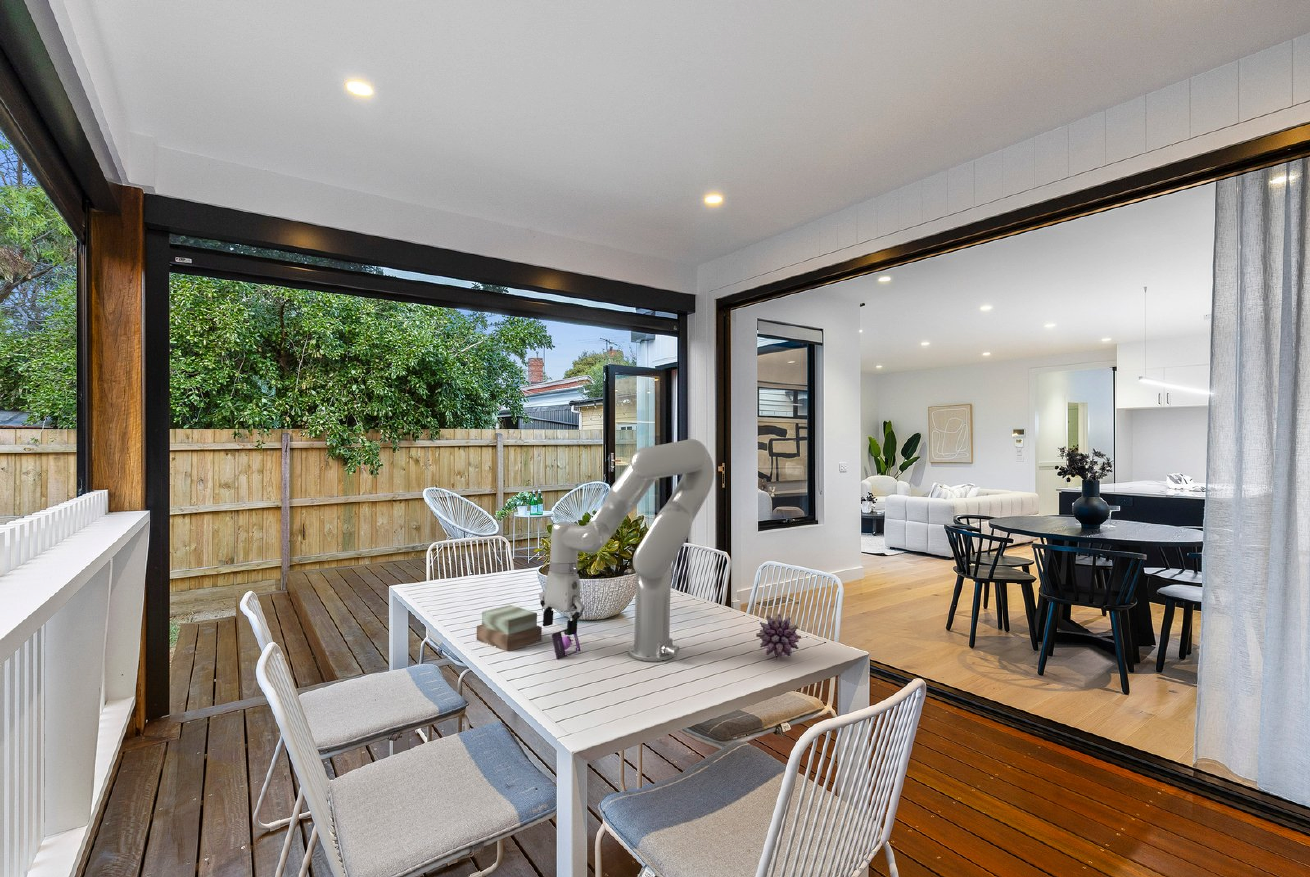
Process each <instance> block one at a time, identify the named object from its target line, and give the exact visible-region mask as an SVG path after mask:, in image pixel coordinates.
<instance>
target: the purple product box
mask: <svg viewBox="0 0 1310 877" xmlns="http://www.w3.org/2000/svg"><path fill="white" fill-rule="evenodd" d="M562 633H563V634H564V635H565V636H562ZM550 635H551V638H552V640H551V641H552V644H553V648H554V651H553V652H554V653H555V657H556V660H560V659H563V658H566V657H568V656H567V655H569V656H571V655H574V654H576V653H578V652H577V651H579V652H580V651H581V646H580V641H579V638H578V632H577V633H576V634H573V637H574V639H572V638H571V636H572V635H567V628H565V629H561V630H558V631H556V632H554V633H551V634H550ZM574 641H575V644H576V647H575V650H574V651H572V652H569V653H567V654H566V650H568V649H569V648H570V647H571V646H572V645H573V642H574Z"/></svg>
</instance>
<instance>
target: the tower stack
mask: <svg viewBox="0 0 1310 877" xmlns="http://www.w3.org/2000/svg"><path fill="white" fill-rule="evenodd" d="M542 630H543V628H542V626H541V625H538V613H537V612H534V611H532V610H529V609H526V608H522V607H519V606H515V605H511V604H510V605H505V606H501V607H496V608H493V609H489V610H484V611H482V612H481V624H480V625H479V624H478V625H476V639H477V640H476V641H478V640H479V641H478V642H481V643H483V642H485V643H484V644H486V643H488V644H487V645H489V644H490V645H489V646H491V645H492V647H494V646H496V647H495V648H497V647H498V648H497V649H499V648H501V649H500V650H502V649H503V651H506V652H509V651H513V650H516V648H517V649H519V648H520V649H521V648H522V646H523V647H525V646H529V645H533V644H536V643H539V642H542V638H543V637H542V636H543V634H542V633H543V631H542Z"/></svg>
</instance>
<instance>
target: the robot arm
mask: <svg viewBox="0 0 1310 877" xmlns="http://www.w3.org/2000/svg"><path fill="white" fill-rule="evenodd" d="M679 475H681V478H680V480H679V481H678V483H677V486H676V487H675V489H674V490H673V492H672V494H671V496H670V498H669V499H668V500H667V502H666V504H664V506H663V507H662V508H661V509H660V511H659V512H658V513H657V515H656V517H655V518H654V521H652V524H651V525H650V527H649V529H648V530H647V532H646V533H645V535H644V537H643V538H642V540H641V541H640V542H639V544H638V545H637V547H636V550H635V551H634V554H633V557H632V566H633V569H634V571H635V597H634V598H635V600H634V634H633V636H634V638H633V640H634V641H633V645H631V646H629V648H628V650H627V651H628V652H627V654H628V655H629V656H630V657H631V658H633V659H635V660H639V661H642V660H643V662H662V660H664V661H668V660H669V659H672V658H673V657H676V656H678V655H679V652H680V649H681V647H680V646H679V645H674V644H673V638H671V637H670V632H671V631H670V626H671V591H672V590H671V587H672V586H671V585H672V581H671V580H672V565H673V564H672V563H674V560H675V559H676V557H677V556H678V554H679V552H680V550H681V549H682V548H683V546H684V544H685V542H686V541H687V539H688V537H689V535H690V533H691V530H692V526H693V522H694V521H695V518H696V517H697V515H698V514H699V512H700V511H701V509H702V506H703V505H704V502H705V501H706V499H707V497H708V495H709V494H710V491H711V489H712V486H713V482H714V477H715V468H714V463H713V460H712V457H711V454H710V453H709V451H708V449H707V448H706V446H705V445H704V444H703V443H702V442H701V441H700V440H697V439H692V438H690V439H689V438H688V439H685V440H680V441H678V440H677V441H674V442H669V443H663V444H657V445H651V446H650V445H649V446H644V447H640V448H639V449H637V450H636V451H635V453H633V455H632V457H631V460H630V461H629V463H628V465H627V466H626V467H625V469H624V470H622V473H621V474H620V475H619V476H618V478H616V480H615V482H614V483H613V484H612V485H611V487H610V489H609V490H608V493H607V497H606V499H605V500H604V502H603V503H602V505H601V506H600V508H599V509H598V510H597V511H596V513H595V514H594V516H593V517H592V518H591V520H589V522H588V523H587V524H586V525H579V524H577V523H576V522H572V521H558V522H555V523H554V524H552V527H551V539H550V555H549V569H548V570H549V571H548V572H547V575H546V580H545V586H544V587H545V588H544V591H542V592H539V593H538V597H539V600H540V602H539V603H540V606H541V607H542V608H541V611H542V612H543V615H542V618H543V619H542V626H543V627H544V628H545V627H549V626H552V625H553V623H554V610H557V611H560V612H563V613H566V614H567V616H568V617H567V618H568V619H567V622H566V623H567V625H566V629H567V635H566V636H572V635H573V634H576V633H577V634H578V622H579V619H580V617H582V616H583V612H584V610H585V609H586V606H585V604H584V603H583V602H582V601H581V581H580V580H581V579H580V576H579V573H578V571H579V566H578V559H579V558H578V557H579V552H580V553H586V554H596V553H598V552H600V551H601V550H602V549H603V548H604V546H605V545H606V544H607V543H608V542H609V540H610V539H611V538H612V536H613V535H615V534H614V533H615V532H616V531H617V530H618V528H619V527H620V526H621V524H622V523H623V522H624V520H625V519H626V517H627V516H628V515H629V514H630V513H631V512H632V511H634V509H635V508H636V507H637V506H638V504H639V503H640V501H641V500H642V498H644V496H645V495H646V494H647V492H648V491H649V489H650V488H651V487H652V486H653V484H654V483H655V482H656V481H657V479H661V478H668V477H672V476H679ZM553 609H554V610H553ZM572 613H573V614H572ZM573 636H574V635H573Z"/></svg>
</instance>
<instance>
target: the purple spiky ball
mask: <svg viewBox="0 0 1310 877" xmlns="http://www.w3.org/2000/svg"><path fill="white" fill-rule="evenodd" d="M766 617H767V618H766V621H767V623H766V622H761V621H760V622H759V624H760V627H761V628H760V630H759V632H758V633H755V634H756V635H755V636H756V638H759V639H761V643H760V644H759V645H760V648H765V647H766V648H767V649H766V653H765V655H767V656H769V655H770V654H771V653H773V652H774V654H775V656H776V655H777V658H779V659H778V660H781V656H782V655H783V654H785V655H786V656H787V657H788V656H790V657H792V654H793V650H792V649H796V650H799V648H800V647H799V646H798V645H797V644H796V643H799V642H800V639H802V636H801V635H799V634H798V633H797V632H796V631H797V630H798V629H799V626H798V624H793V625H791V619H792V617H791V616H788V617H787V618H785V619H783V618H782V614H781V613H777V614H776V617H775V618H773V617H771V616H770V614H768V615H766ZM777 658H776V659H777Z"/></svg>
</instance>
